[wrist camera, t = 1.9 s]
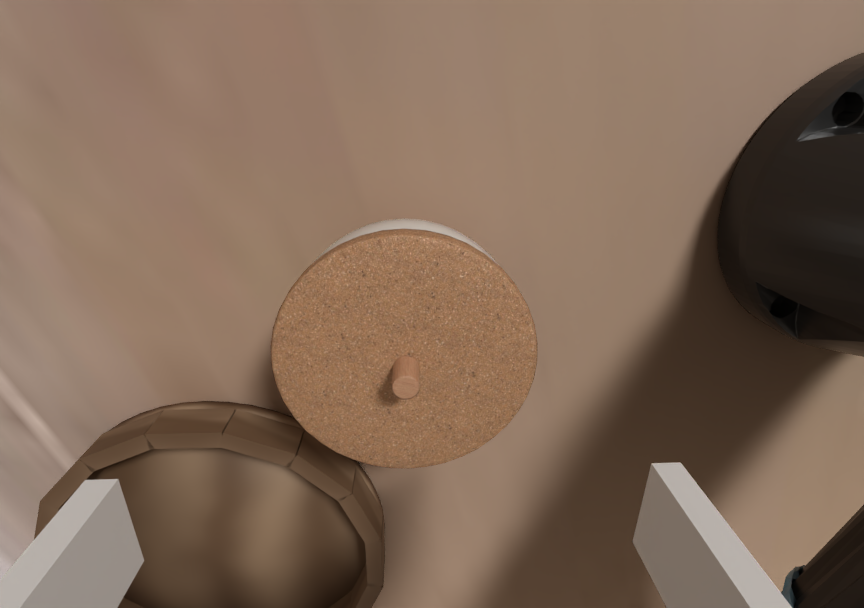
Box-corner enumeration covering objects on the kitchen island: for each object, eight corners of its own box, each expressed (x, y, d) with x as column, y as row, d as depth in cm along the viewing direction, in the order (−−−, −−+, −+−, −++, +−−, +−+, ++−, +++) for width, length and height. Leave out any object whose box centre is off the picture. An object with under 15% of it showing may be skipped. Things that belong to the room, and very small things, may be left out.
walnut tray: (379, 398, 29) (376, 429, 26) (388, 624, 37) (386, 666, 34) (25, 404, 28) (-18, 437, 25) (113, 634, 36) (88, 679, 33)
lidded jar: (465, 396, 29) (489, 521, 20) (289, 351, 27) (234, 467, 18) (533, 232, 25) (599, 299, 16) (334, 168, 23) (290, 204, 15)
